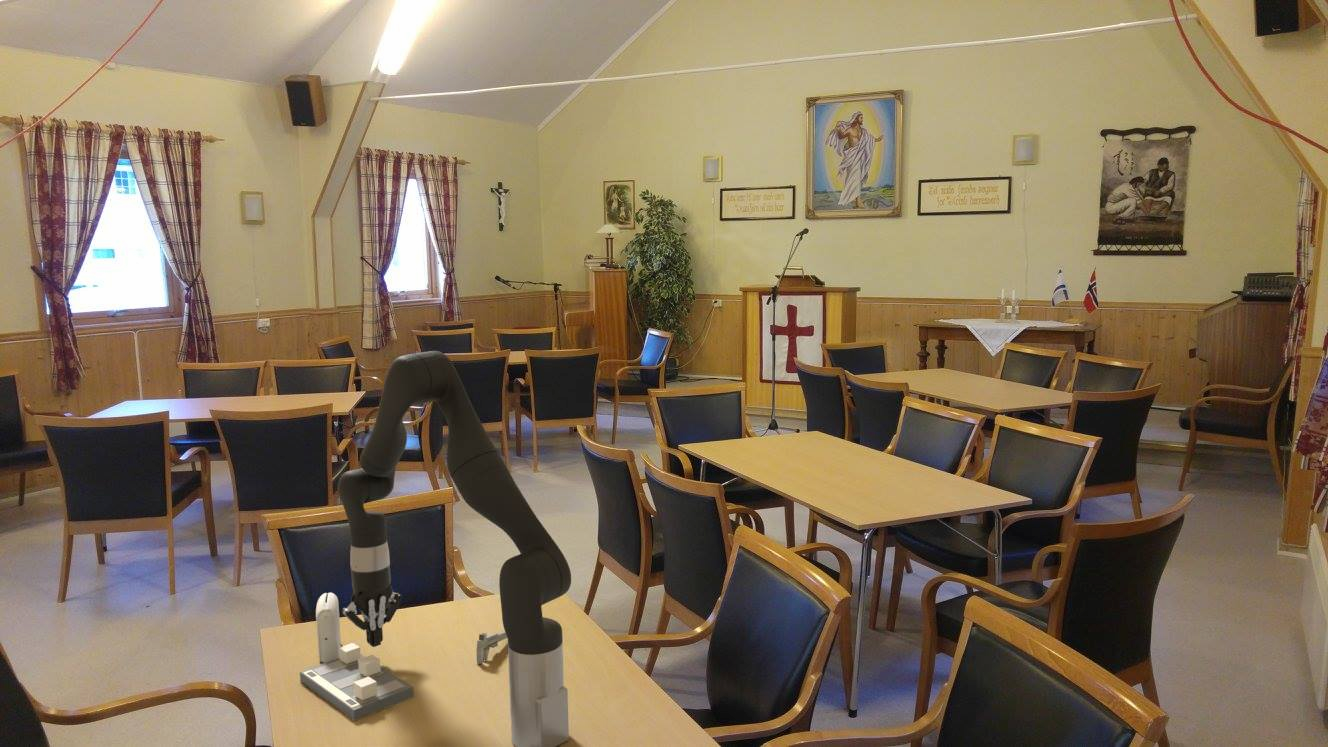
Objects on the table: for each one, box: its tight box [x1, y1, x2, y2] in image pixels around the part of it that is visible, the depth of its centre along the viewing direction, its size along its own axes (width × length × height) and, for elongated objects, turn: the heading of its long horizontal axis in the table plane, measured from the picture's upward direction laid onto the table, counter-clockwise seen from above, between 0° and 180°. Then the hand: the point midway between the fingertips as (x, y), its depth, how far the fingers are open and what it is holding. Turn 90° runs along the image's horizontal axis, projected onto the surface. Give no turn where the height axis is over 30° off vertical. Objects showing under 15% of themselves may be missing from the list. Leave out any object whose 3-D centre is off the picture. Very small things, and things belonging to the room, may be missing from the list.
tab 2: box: [354, 677, 377, 700], centre depth 166 cm, size 3×3×2 cm
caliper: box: [476, 630, 508, 665], centre depth 192 cm, size 20×1×6 cm, turn 161°
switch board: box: [299, 653, 415, 721], centre depth 173 cm, size 22×12×2 cm, turn 46°
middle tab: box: [358, 654, 382, 677], centre depth 175 cm, size 3×3×2 cm
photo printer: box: [315, 592, 342, 664], centre depth 188 cm, size 10×4×12 cm, turn 17°
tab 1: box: [339, 642, 361, 664], centre depth 181 cm, size 3×3×2 cm
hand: (375, 644), depth 185 cm, fingers closed
